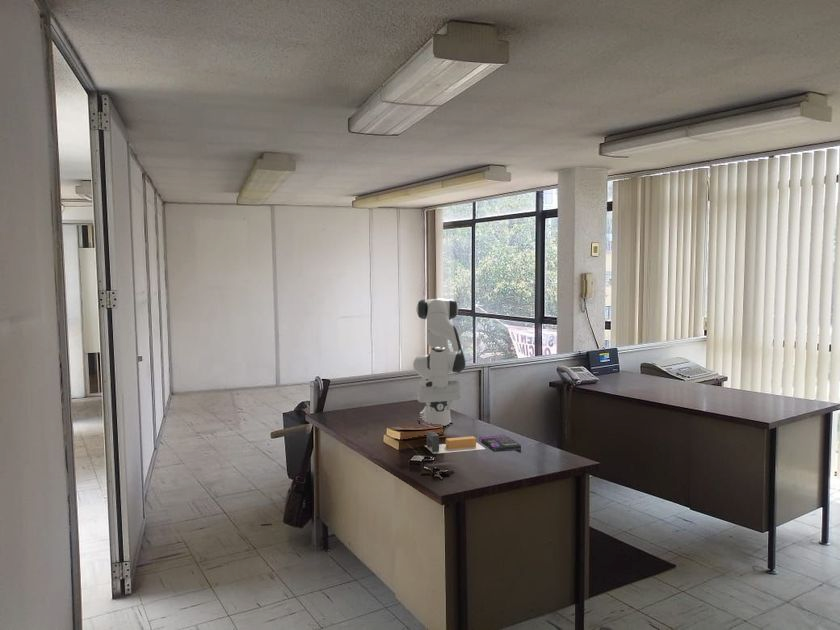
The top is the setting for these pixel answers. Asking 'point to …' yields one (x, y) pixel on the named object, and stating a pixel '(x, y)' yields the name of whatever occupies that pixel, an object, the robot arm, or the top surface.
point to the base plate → (445, 450)
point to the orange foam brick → (460, 442)
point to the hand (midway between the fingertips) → (439, 410)
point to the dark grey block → (433, 440)
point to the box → (500, 443)
